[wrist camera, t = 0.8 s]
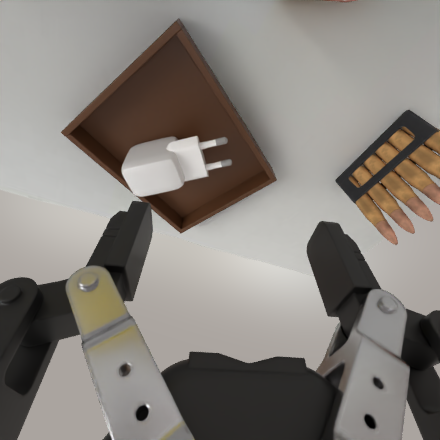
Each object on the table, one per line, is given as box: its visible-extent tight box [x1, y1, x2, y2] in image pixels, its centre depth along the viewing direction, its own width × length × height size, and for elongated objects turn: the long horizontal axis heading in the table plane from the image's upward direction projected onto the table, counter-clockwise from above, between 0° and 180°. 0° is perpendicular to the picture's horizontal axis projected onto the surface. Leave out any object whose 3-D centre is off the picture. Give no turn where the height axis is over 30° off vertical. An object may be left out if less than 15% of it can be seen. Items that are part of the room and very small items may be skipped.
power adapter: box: [121, 136, 232, 197], centre depth 26 cm, size 11×5×6 cm, turn 103°
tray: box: [61, 19, 277, 233], centre depth 28 cm, size 18×15×3 cm
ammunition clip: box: [336, 110, 440, 245], centre depth 26 cm, size 11×2×12 cm, turn 151°
